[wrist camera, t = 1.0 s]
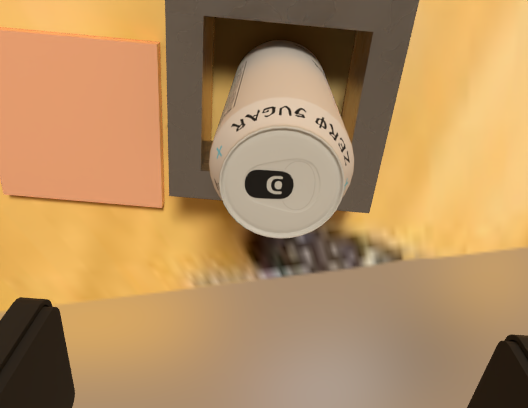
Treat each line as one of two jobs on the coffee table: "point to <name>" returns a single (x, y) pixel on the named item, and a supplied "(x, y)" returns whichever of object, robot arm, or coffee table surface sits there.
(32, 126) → the terracotta tile
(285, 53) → the energy drink can
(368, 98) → the frame
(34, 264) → the coffee table surface
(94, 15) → the coffee table surface
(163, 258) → the coffee table surface
